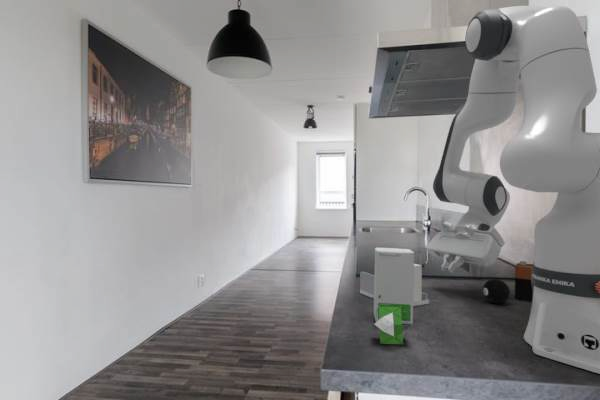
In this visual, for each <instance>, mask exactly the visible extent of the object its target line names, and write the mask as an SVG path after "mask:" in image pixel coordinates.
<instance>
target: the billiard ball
mask: <svg viewBox="0 0 600 400" xmlns="http://www.w3.org/2000/svg"><path fill="white" fill-rule="evenodd" d="M482 294H483V296H484V298H485V299H486V300H487V301H489V302H490V303H493V304H503V303H505V302H507V301H508V300H509V298H510V295H511V290H510V287H509V286H508V284H507V282H504V281H503V280H501V279H497V278H496V279H495V278H494V279H489V280H487V281H485V283H484V284H483V287H482Z"/></svg>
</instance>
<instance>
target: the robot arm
mask: <svg viewBox="0 0 600 400" xmlns="http://www.w3.org/2000/svg"><path fill="white" fill-rule="evenodd" d="M464 38H465V44H464V45H465V49H466V52H467V54H468V55H469V57H471V59H474V60H475V61H474V63H473V67H472V71H471V75H470V79H469V86H468V92H467V93H468V95H467V99H466V101H465V103H464V106H463V108H462V110H461V111H459V112H457V113H456V114H455V115H454V117H453V118H452V121H451V123H450V126H449V129H448V132H447V133H448V134H447V136H446V141H445V143H444V144H445V145H444V149H443V151H442V152H443V153H442V156H441V159H440V163H439V164H440V165H439V167H438V169H437V172H436V174H435V177H434V179H433V184H432V190H433V192H434V194H435V196H436V198H437V199H438V200H439V201H440V202H444V203H449V204H450V203H451V204H456V205H462V206H466V207H468V209H467V211H466V212H465V213H464V214H463V215H462V216H461V218H460V219H459V221H458V222H457V224H456V225H455V226H454V228H453V229H444V230H442V231H439V232H438V233H436V234H435V236H433V238H432V239H431V240H430V241H429V242H428V243H427V245H426V250H427V251H428V253H429V254H430V255H431V256H432V257H436V258H440V259H441V258H442V259H443V263H442V265H441V267H440V268H441V270H442V271H444V272H448V273H451V274H452V273H454V272H455V270H456V269H458V268H459V267H461V266H462V265H463V264H464V263H466V264H467V263H468V264H474V265H478V266H483V267H490V266H492V265H494V264H495V263H496V261H497V259H498V257H499V256H500V253H501V251H502V250H501V249H502V247H503V246H504V245H505V241H504V239H503V236H501V234H500V233H499V230H497V229H496V227H495V226H496V225H497V224H499V223H500V221H501V220H502V218H503V216H504V215H505V213H506V210H507V208H508V206H509V204H510V200H511V195H510V192H509V191H508V189H507V188H506V187H505V185H504V183H503V181H502V180H501V179H500V178H499V177H498V176H496V175H492V174H487V173H482V172H475V171H469V170H463V169H461V167H460V164H461V160H462V157H463V153H464V150H465V147H466V143H467V141H468V138H470V137H471V136H472V135H473V134H476V133H477V132H481V131H485V130H489V129H493V128H494V127H498V126H500V125H501V124H503V123H504V122H506V121H507V120H509V118H510V117H511V115H512V114H513V113H514V109H515V107H516V104H517V98H518V91H519V82H520V81H521V87H522V95H523V104H524V110H523V111H524V112H523V118H522V123H521V125H520V128H519V130H518V131H517V133H516V134H515V135H514V136H513V137H511V139H510V140H509V141H508V142H507V143H506V144H505V145H504V148H503V149H502V152H501V154H500V158H499V167H500V168H499V169H500V172H501V175H502V177H503V179H504V180H505V182H507V184H508V185H510V186H512V187H515V188H518V189H522V190H525V191H530V192H535V193H557V196H556V199H555V202H554V203H553V206H552V208H551V210H550V211H549V212H548V213H547V214H546V215H544V216H543V217H541V219H539V220H538V221H537V223H536V224H535V227H534V258H533V260H534V261H533V262H534V265H533V266H532V274H531V285H532V291H533V300H532V301H531V307H530V313H529V319H528V323H527V326H526V329H525V332H524V334H523V340H524V341H525V342H526V343H527V344H529V345H530V346H531V347H532V353H533V354H535V355H538V356H541V357H543V358H546V359H550V360H553V361H556V362H558V363H559V362H560V363H563V364H566V365H569V366H573V367H576V368H579V369H583V370H586V371H590V372H592V373H594V374H595V373H596V374H599V375H600V132H588V131H587V132H585V131H583V129H582V128H581V125H580V124H581V116H582V115H581V114H582V111H583V110H584V109H585V108H587V107H588V106H589V105H590V104H591V103H592V102H593V100H594V99H595V97H596V95H597V91H598V90H597V89H598V88H597V82H596V77H595V75H594V69H593V63H592V59H591V54H590V49H589V44H588V41H587V38H586V34H585V32H584V29H583V27H582V25H581V22H580V20H579V19H578V17H577V15H576V13H575V11H573V10H572V9H571V8H569V7H567V6H563V5H562V6H561V5H554V6H536V5H532V6H531V5H514V6H507V7H500V8H498V7H489V8H487V9H486V8H485V9H483V10H480V11H478V12H476V13H475V15H474V16H473V17H472V19H470V21H469V23H468V25H467V29H466V32H465V37H464Z"/></svg>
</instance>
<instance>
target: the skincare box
mask: <svg viewBox="0 0 600 400" xmlns="http://www.w3.org/2000/svg"><path fill="white" fill-rule="evenodd" d="M414 264H415V252H414V250H411V249H409V248H396V247H375V248H374V274H373V275H374V299H373V319H374V322H377V321H378V320H379V308H378V307H379V306H391V307H401V308H402V309H401V316H402V325H404V324H405V325H406V324H407V325H410V324H411V325H413V324H414V306H413V288H414ZM377 311H378V312H377ZM402 311H404V312H403V313H402ZM376 312H377V313H376ZM376 314H377V315H376ZM375 315H376V316H375ZM403 315H404V316H403ZM375 318H376V319H375ZM404 318H405V319H404ZM404 320H405V321H406V322H405V321H404ZM408 320H409V321H408ZM407 322H408V323H407ZM403 323H404V324H403Z"/></svg>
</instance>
